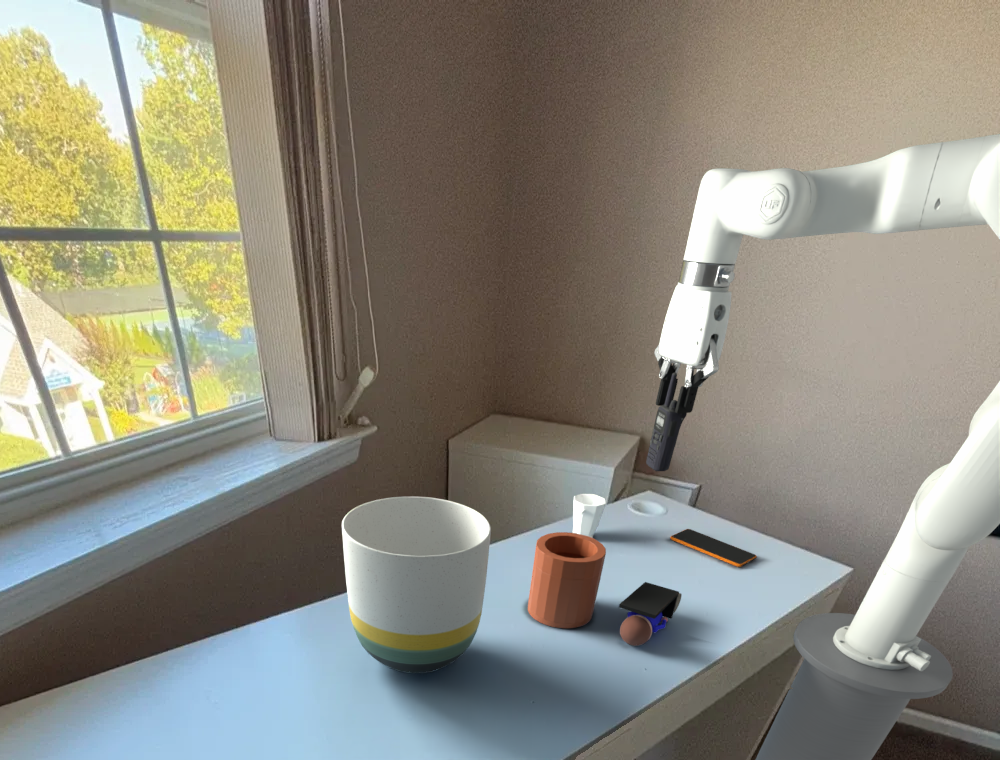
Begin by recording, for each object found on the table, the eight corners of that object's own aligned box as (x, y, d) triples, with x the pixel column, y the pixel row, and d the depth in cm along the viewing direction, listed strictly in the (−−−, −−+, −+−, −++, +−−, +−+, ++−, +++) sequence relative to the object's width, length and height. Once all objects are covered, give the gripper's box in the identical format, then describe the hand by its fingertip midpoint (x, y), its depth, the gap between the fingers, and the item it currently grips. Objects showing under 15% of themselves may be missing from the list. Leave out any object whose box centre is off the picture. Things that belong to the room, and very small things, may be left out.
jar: (604, 621, 109) (619, 555, 101) (549, 633, 104) (561, 566, 97) (568, 591, 116) (579, 528, 108) (515, 602, 112) (523, 537, 104)
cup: (603, 535, 136) (611, 498, 131) (587, 551, 130) (594, 513, 124) (573, 527, 139) (579, 490, 134) (555, 543, 132) (561, 505, 127)
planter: (431, 715, 87) (436, 572, 73) (323, 665, 94) (309, 527, 80) (502, 652, 100) (517, 520, 86) (402, 612, 107) (402, 486, 93)
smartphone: (739, 568, 127) (740, 564, 127) (668, 540, 136) (669, 536, 136) (757, 558, 131) (758, 554, 131) (687, 531, 140) (688, 527, 140)
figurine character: (638, 614, 114) (607, 641, 103) (650, 574, 110) (619, 598, 99) (674, 626, 111) (646, 656, 100) (687, 586, 107) (660, 612, 96)
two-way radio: (642, 462, 115) (663, 370, 105) (665, 462, 116) (688, 370, 106) (654, 473, 111) (677, 377, 101) (677, 473, 111) (702, 378, 102)
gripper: (765, 284, 91) (725, 420, 103) (686, 271, 102) (658, 395, 114) (726, 284, 88) (689, 424, 100) (650, 270, 100) (625, 397, 111)
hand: (673, 407), depth 107 cm, fingers closed on two-way radio, 4 cm apart
